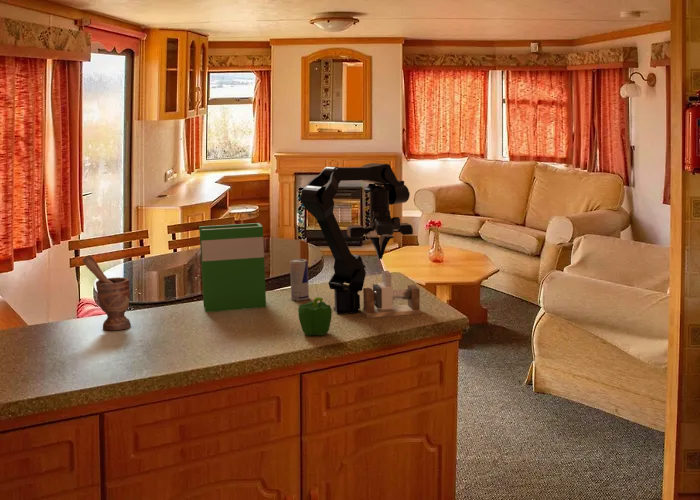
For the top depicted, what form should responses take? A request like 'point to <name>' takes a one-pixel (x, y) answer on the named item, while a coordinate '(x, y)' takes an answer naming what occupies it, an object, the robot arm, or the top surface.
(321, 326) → the bell pepper
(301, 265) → the energy drink
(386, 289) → the beige boxy piece
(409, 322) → the top surface
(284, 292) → the top surface
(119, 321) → the mortar and pestle
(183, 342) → the top surface
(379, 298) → the dark flat slab
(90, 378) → the top surface
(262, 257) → the hardback book
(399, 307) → the pipe stand
